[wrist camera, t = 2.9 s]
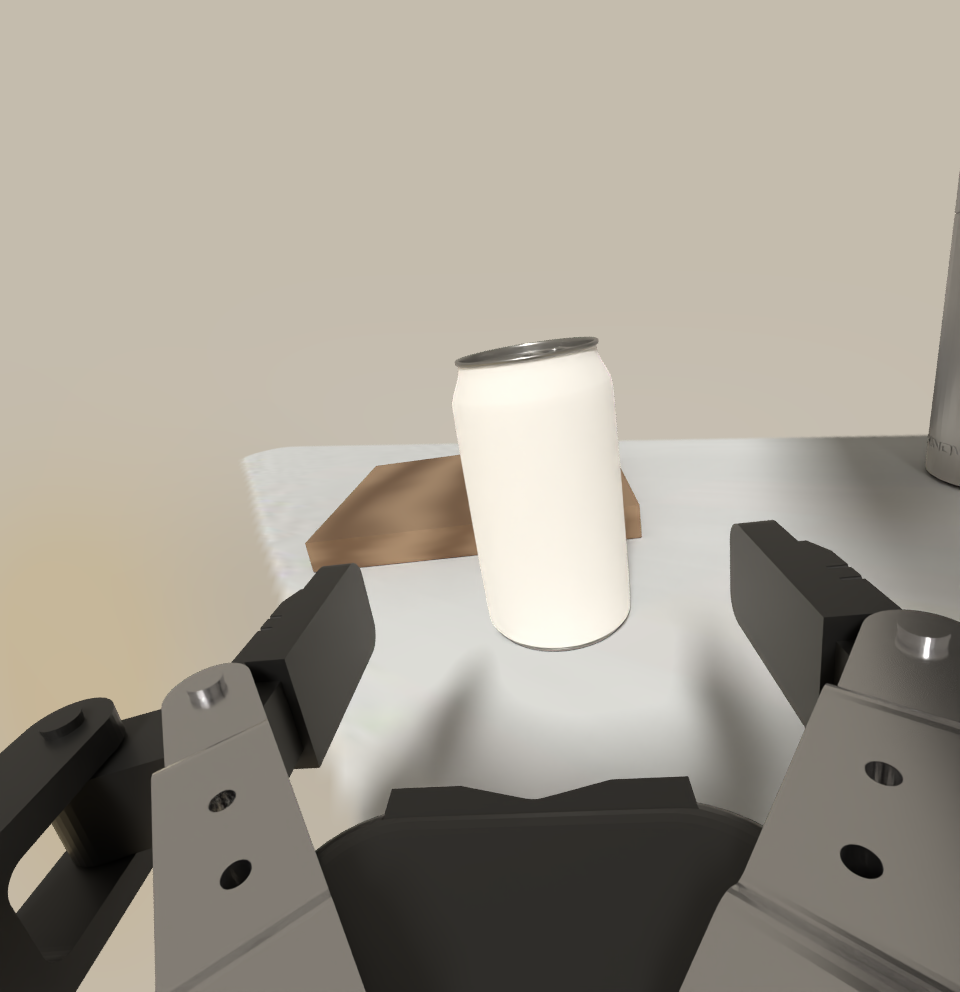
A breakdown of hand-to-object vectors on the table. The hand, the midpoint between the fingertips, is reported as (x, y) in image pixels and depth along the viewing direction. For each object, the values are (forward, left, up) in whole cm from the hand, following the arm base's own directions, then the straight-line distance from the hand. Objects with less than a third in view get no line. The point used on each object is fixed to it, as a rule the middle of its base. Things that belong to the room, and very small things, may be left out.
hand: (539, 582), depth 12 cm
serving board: (+5, -26, -8) cm, 28 cm away
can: (0, -11, -8) cm, 14 cm away
